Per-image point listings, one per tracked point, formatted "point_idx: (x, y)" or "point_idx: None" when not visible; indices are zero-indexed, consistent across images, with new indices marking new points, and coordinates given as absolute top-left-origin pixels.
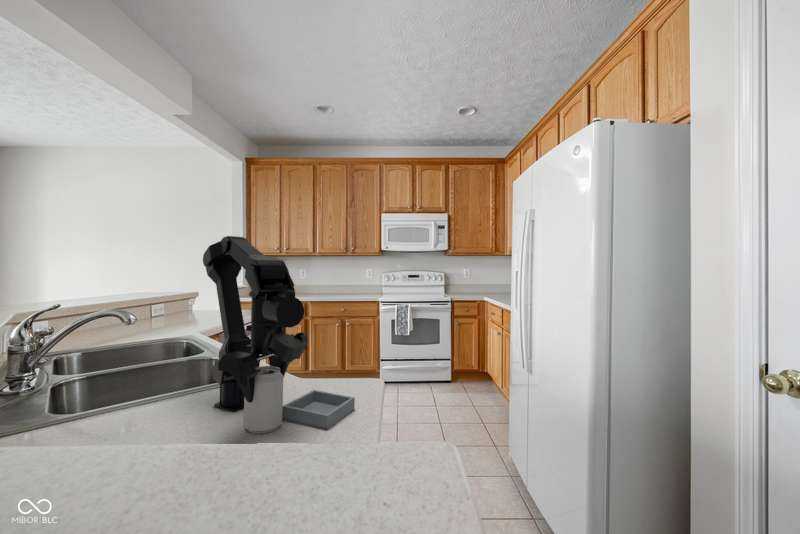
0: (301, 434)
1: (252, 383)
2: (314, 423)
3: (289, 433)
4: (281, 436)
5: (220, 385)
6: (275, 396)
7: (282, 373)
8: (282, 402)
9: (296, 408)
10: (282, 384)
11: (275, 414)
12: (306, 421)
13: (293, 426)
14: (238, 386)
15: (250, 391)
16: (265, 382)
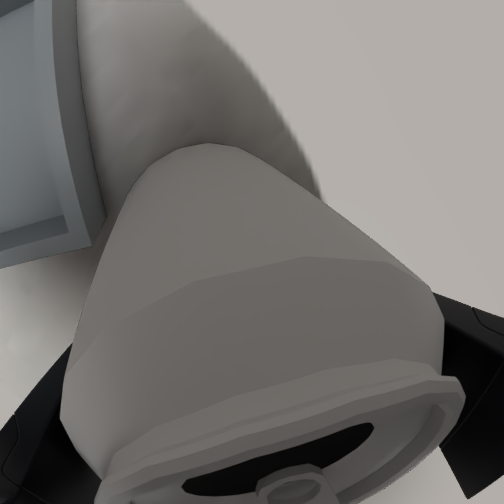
0: (161, 26)
1: (490, 325)
2: (71, 29)
3: (183, 75)
4: (226, 83)
5: None
6: (258, 184)
7: (41, 426)
8: (142, 192)
9: (58, 155)
10: (135, 258)
11: (225, 153)
12: (73, 75)
13: (118, 118)
14: None
15: (444, 298)
16: (432, 299)
